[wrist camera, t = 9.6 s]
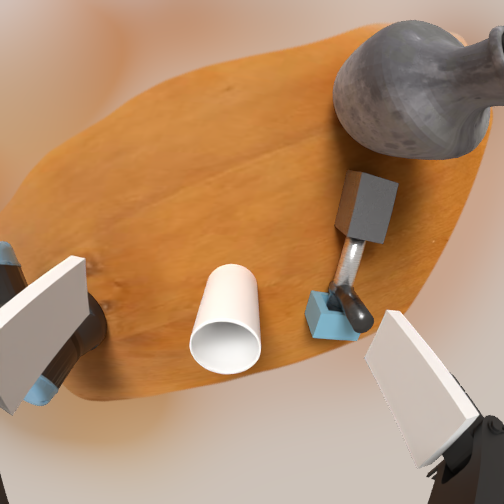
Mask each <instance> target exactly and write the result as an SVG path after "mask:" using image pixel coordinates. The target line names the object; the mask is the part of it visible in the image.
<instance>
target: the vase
mask: <svg viewBox="0 0 504 504" xmlns="http://www.w3.org/2000/svg"><path fill="white" fill-rule="evenodd" d="M333 102H334V108H335V111H336V114H337V117H338V119H339V121H340V123H341V124H342V126H343V127H344V129H345V130H346V131H347V132H348V134H349V135H350V136H351V137H352V138H353V139H354V140H356V141H357V142H358V143H360V144H361V145H363V146H364V147H366V148H368V149H370V150H372V151H375V152H378V153H381V154H385V155H389V156H394V157H402V158H410V159H425V160H444V159H452V158H458V157H461V156H463V155H465V154H468V153H469V152H471V151H473V150H474V149H475V148H476V147H477V146H478V145H479V143H480V142H481V141H482V139H483V138H484V136H485V134H486V131H487V128H488V125H489V119H490V107H492V106H504V26H498V27H495V28H493V29H492V30H491V32H490V34H489V38H488V39H485V40H483V41H481V42H479V43H476V44H473V45H471V46H466V47H464V46H463V44H462V43H461V42H459V41H458V40H457V39H456V38H455V37H454V36H453V35H451V34H450V33H448V32H447V31H445V30H443V29H442V28H440V27H438V26H436V25H433V24H430V23H427V22H423V21H417V20H410V21H401V22H397V23H394V24H392V25H390V26H387V27H385V28H383V29H382V30H380V31H379V32H377V33H376V34H374V35H373V36H372V37H370V38H369V39H368V40H367V41H365V42H364V43H363V44H362V45H361V46H359V47H358V48H357V49H356V50H355V51H354V52H353V53H352V54H351V56H350V57H349V58H348V59H347V60H346V61H345V63H344V64H343V66H342V67H341V69H340V70H339V72H338V74H337V76H336V79H335V82H334V88H333Z"/></svg>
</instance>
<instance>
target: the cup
mask: <svg viewBox="0 0 504 504" xmlns="http://www.w3.org/2000/svg"><path fill="white" fill-rule="evenodd" d="M190 351H191V354H192V356H193V357H194V359H195V360H196V361H197V362H198V363H199V364H200V365H201V366H203V367H204V368H206V369H208V370H210V371H212V372H215V373H220V374H235V373H240V372H243V371H245V370H247V369H249V368H250V367H252V366H253V365H254V364H255V363H256V362H257V360H258V358H259V356H260V352H261V336H260V321H259V305H258V290H257V282H256V279H255V277H254V275H253V274H252V273H251V272H250V271H249V270H248V269H246V268H245V267H243V266H240V265H236V264H227V265H223V266H220V267H218V268H217V269H215V270H214V271H213V272H212V273H211V275H210V276H209V279H208V281H207V285H206V288H205V291H204V294H203V298H202V301H201V304H200V307H199V311H198V314H197V317H196V321H195V324H194V327H193V331H192V334H191V338H190Z"/></svg>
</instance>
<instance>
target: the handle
mask: <svg viewBox="0 0 504 504" xmlns="http://www.w3.org/2000/svg"><path fill="white" fill-rule="evenodd" d="M365 244H366V240H362V239H357V238H352V237H347V236H346V239H345V243H344V246H343V250H342V254H341V257H340V261H339V264H338V268H337V271H336V274H335V278H334V280H332V281H331V282H330V285H329V289H328V290H329V292H330V294H329V297H328V300H327V303H326V306H327V308H328V310H329V311H336V312H344V313H345V315H346V317H347V319H348V321H349V322H350V324H351V326H352V328H353V330H354V331H355V332H357V333H364V332H366V331H368V330H369V329H370V328H371V327H372V326H373V323H374V318H373V317H372V315H371V314H370V312H369V311H368V309H367V308H366V307H365V305H364V304H363V302H362V301H361V300H360V298H359V297H358V295H357V294H356V293H355V291H354V287H353V283H354V280H355V277H356V274H357V271H358V267H359V264H360V261H361V258H362V254H363V251H364V248H365Z"/></svg>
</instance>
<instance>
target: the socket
mask: <svg viewBox="0 0 504 504" xmlns="http://www.w3.org/2000/svg"><path fill="white" fill-rule="evenodd" d="M329 294H330V293H325V292H317V291H311V294H310V297H309V300H308V304H307V307H306V310H305V316H306V319H307V322H308V325H309V328H310V331H311V334H312V337H313V338H322V339H335V340H351V341H357V340H358V338H359V335H360V333H357V332H355V331H354V330H353V328H352V326H351V324H350V322H349V321H348V319H347V317H346V315H345V313H344V312H336V311H329V310H328V308H327V306H326V303H327V300H328V297H329Z"/></svg>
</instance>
